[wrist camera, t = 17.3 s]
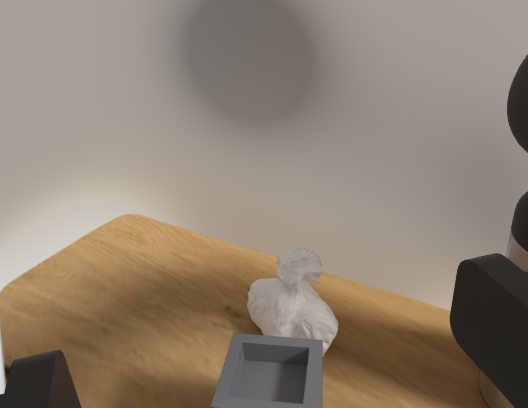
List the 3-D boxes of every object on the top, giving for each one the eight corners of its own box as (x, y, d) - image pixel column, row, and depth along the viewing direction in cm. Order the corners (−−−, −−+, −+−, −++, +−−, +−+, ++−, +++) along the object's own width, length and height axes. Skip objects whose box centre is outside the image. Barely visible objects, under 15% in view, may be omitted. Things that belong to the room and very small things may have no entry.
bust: (338, 373, 53) (377, 276, 53) (303, 376, 47) (346, 266, 47) (258, 324, 60) (292, 239, 60) (218, 321, 54) (256, 226, 54)
